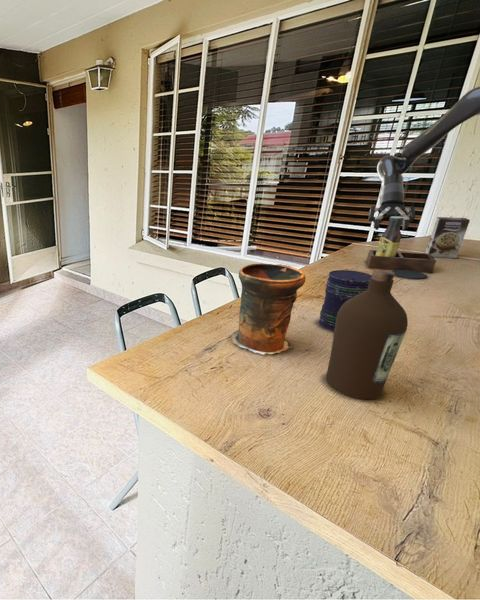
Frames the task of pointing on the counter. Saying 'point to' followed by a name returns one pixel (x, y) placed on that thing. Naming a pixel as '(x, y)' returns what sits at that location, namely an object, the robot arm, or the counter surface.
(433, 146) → the robot arm
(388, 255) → the sauce bottle
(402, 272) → the coaster
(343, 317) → the olive oil
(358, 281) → the storage jar
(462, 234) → the cookie box
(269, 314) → the vessel
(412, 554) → the counter surface
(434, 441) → the counter surface
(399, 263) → the tray
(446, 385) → the counter surface
